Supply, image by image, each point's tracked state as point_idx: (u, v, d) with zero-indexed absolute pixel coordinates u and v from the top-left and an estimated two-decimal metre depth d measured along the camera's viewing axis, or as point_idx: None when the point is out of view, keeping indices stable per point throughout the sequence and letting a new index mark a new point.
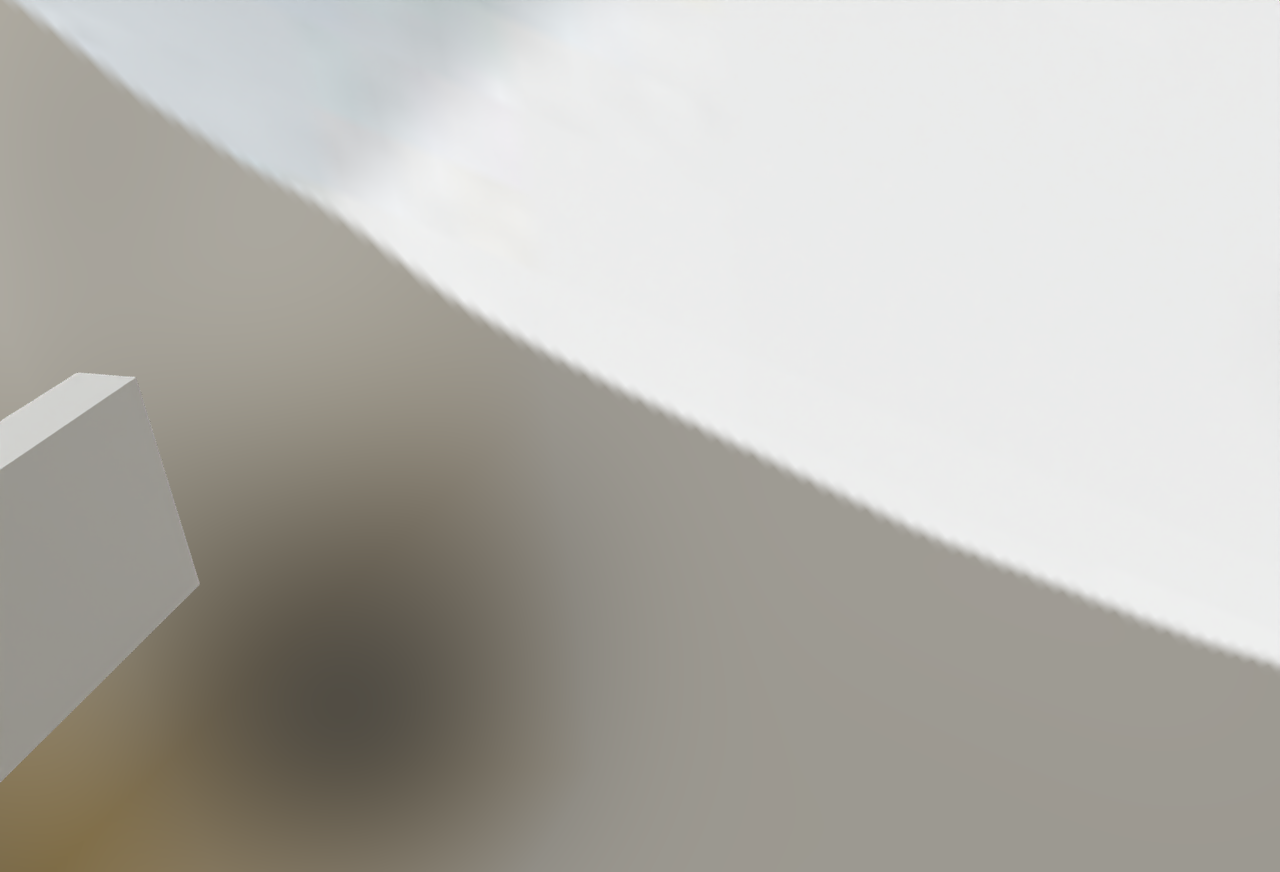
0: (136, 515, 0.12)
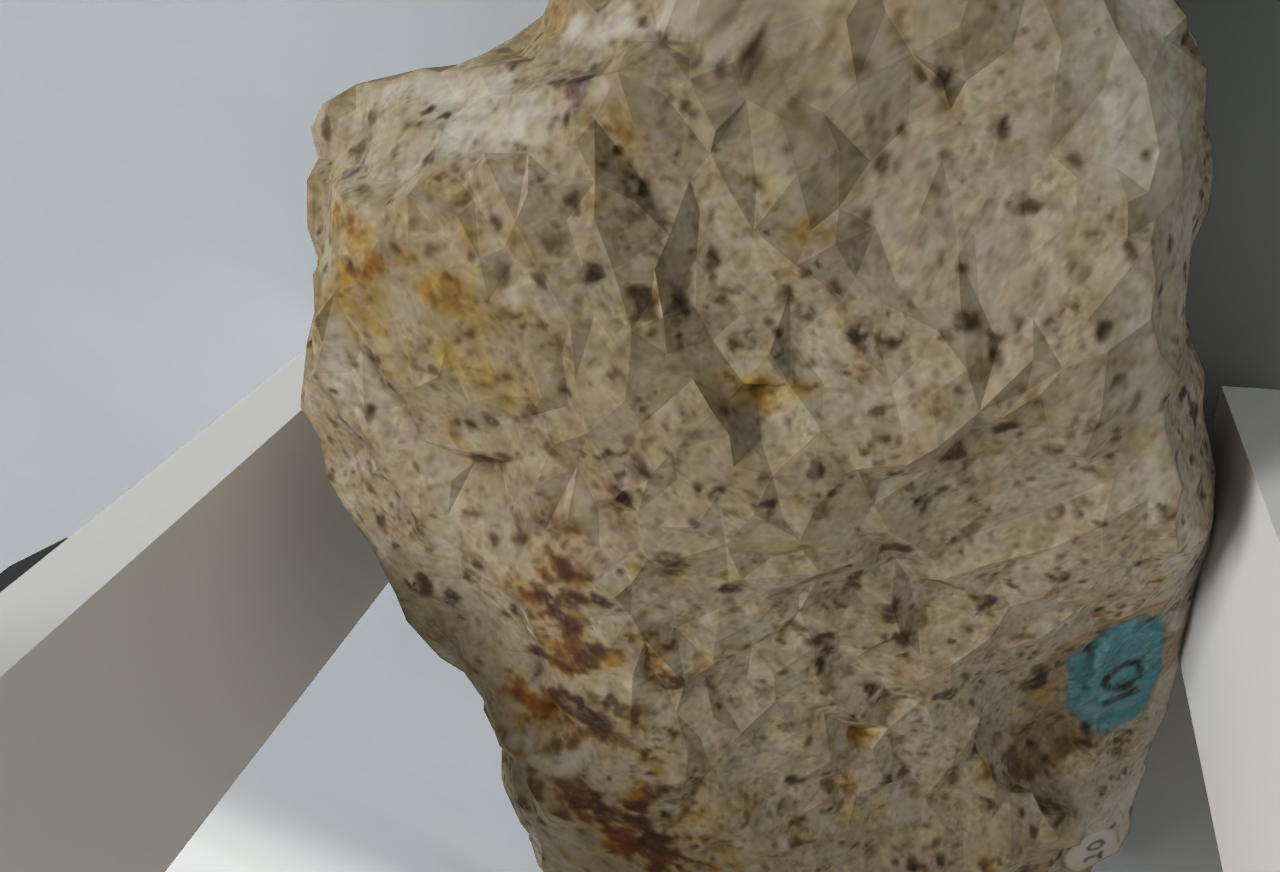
0: None
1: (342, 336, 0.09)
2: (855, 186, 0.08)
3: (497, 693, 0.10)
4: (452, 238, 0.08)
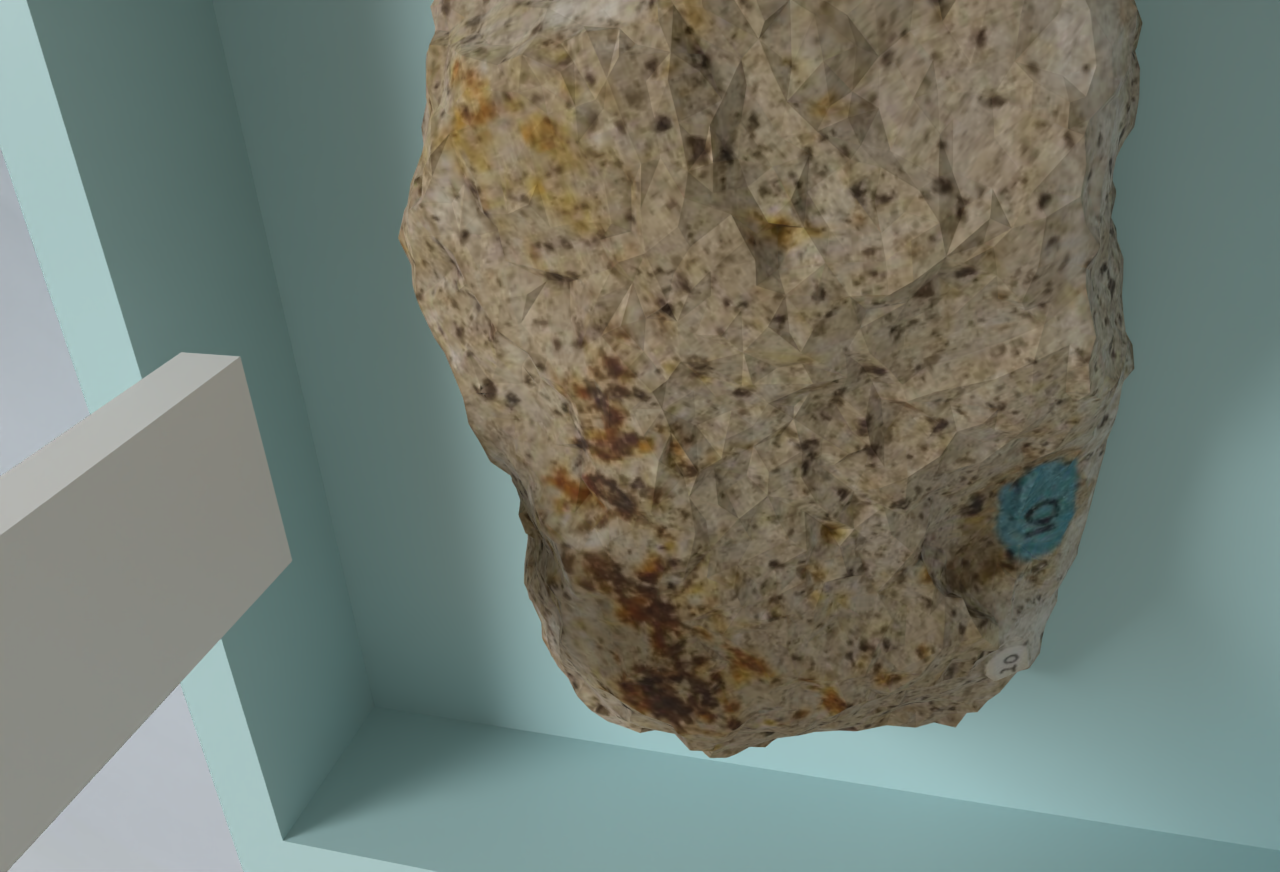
0: (239, 491, 0.12)
1: (451, 171, 0.11)
2: (866, 73, 0.10)
3: (541, 483, 0.12)
4: (555, 90, 0.10)
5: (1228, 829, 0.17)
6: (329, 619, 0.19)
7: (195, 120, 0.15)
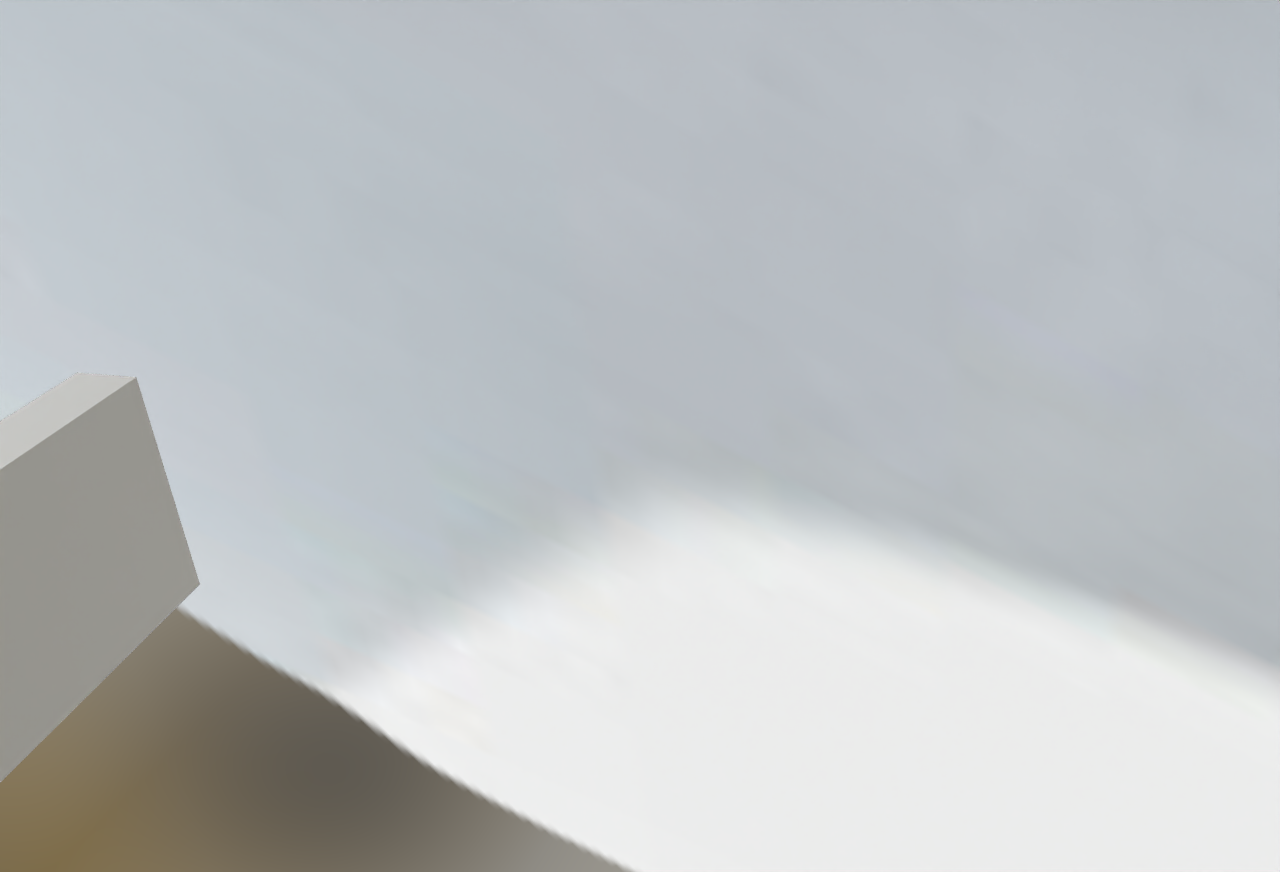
0: (136, 515, 0.12)
1: None
2: None
3: None
4: None
5: None
6: None
7: None
